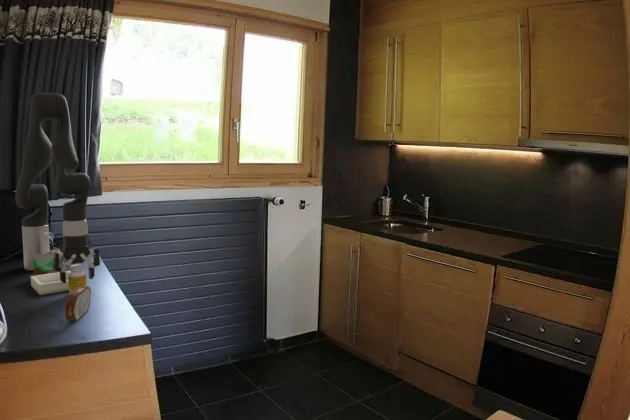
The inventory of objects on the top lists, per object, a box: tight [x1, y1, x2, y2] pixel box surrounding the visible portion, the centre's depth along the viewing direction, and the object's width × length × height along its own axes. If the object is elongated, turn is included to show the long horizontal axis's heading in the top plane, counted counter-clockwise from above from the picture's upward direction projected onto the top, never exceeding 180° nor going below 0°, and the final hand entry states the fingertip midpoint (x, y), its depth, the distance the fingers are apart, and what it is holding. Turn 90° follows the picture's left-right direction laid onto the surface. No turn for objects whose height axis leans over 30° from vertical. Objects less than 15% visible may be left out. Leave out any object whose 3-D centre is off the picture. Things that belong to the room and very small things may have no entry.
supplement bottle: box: [68, 263, 87, 295], centre depth 180 cm, size 5×5×10 cm
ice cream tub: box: [31, 246, 62, 276], centre depth 200 cm, size 12×6×10 cm, turn 168°
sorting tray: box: [30, 270, 71, 296], centre depth 187 cm, size 13×13×4 cm
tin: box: [64, 285, 92, 322], centre depth 159 cm, size 15×3×8 cm, turn 5°
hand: (77, 280), depth 180 cm, fingers open, 8 cm apart
